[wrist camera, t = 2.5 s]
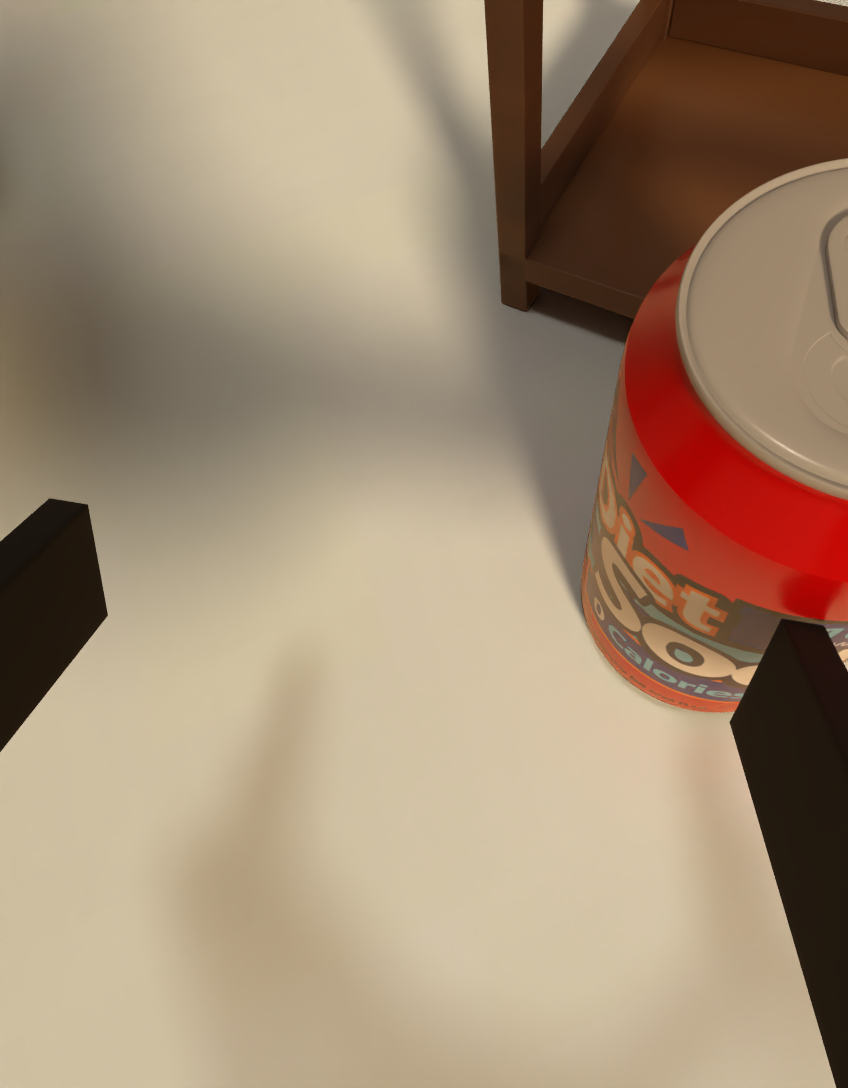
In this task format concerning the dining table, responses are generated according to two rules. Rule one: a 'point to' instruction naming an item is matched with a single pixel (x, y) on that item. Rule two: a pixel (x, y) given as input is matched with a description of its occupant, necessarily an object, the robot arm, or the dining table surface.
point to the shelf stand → (654, 136)
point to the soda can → (729, 451)
